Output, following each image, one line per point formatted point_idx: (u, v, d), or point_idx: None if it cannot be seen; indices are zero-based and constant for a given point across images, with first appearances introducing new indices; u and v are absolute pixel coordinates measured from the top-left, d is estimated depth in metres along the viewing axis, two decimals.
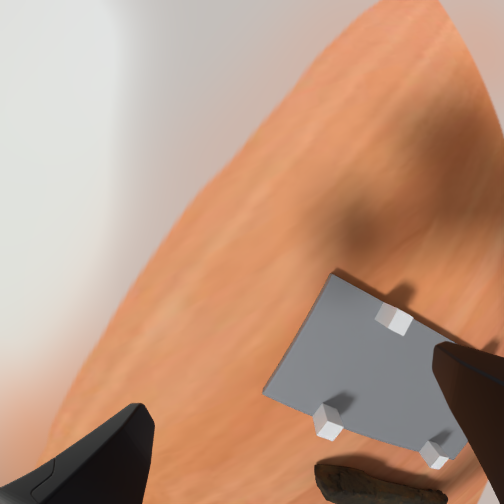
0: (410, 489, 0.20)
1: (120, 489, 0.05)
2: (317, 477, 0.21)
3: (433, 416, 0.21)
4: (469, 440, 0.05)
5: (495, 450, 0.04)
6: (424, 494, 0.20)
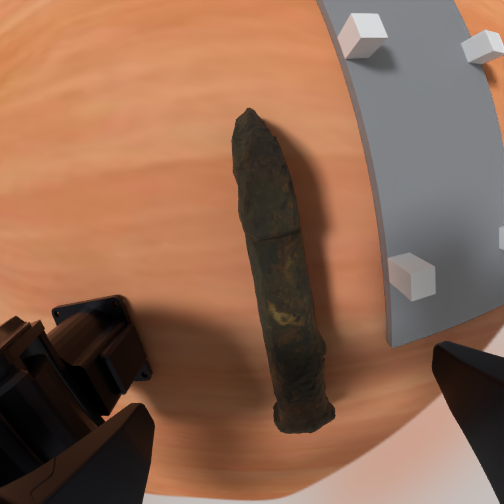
0: None
1: (120, 489, 0.05)
2: None
3: (441, 218, 0.15)
4: (469, 440, 0.05)
5: (495, 450, 0.04)
6: None
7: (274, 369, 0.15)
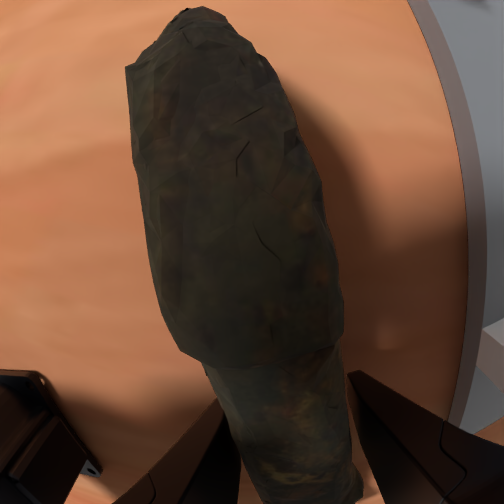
0: None
1: (222, 496, 0.05)
2: None
3: None
4: (376, 479, 0.05)
5: (393, 499, 0.04)
6: None
7: None
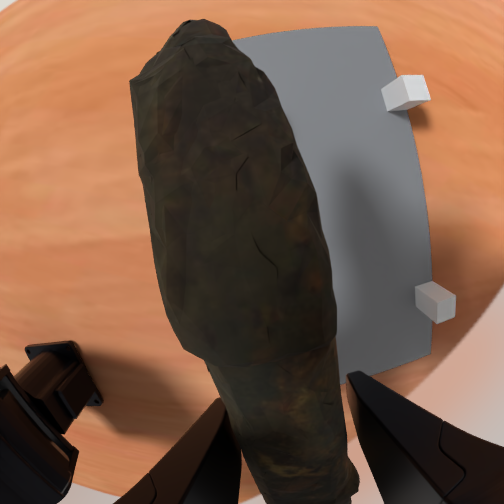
0: None
1: (223, 496, 0.05)
2: None
3: (338, 285, 0.18)
4: (375, 479, 0.05)
5: (393, 499, 0.04)
6: None
7: None
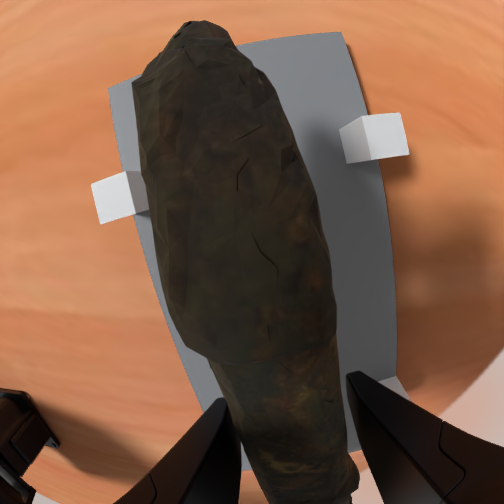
0: None
1: (223, 496, 0.05)
2: None
3: None
4: (375, 480, 0.05)
5: (393, 499, 0.04)
6: None
7: None
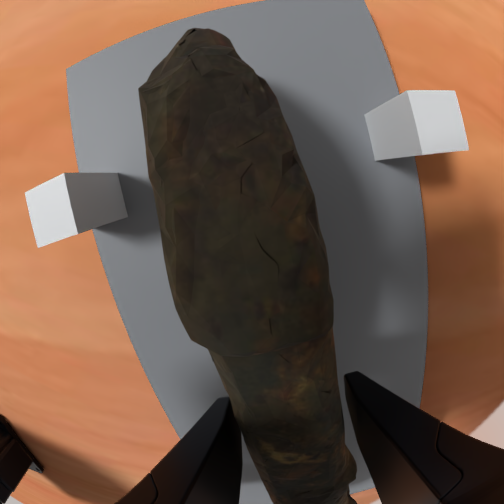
0: None
1: (224, 496, 0.05)
2: None
3: None
4: (373, 480, 0.05)
5: (390, 500, 0.04)
6: None
7: (274, 497, 0.08)
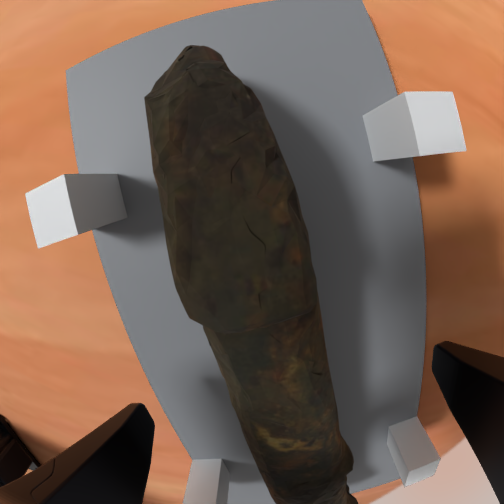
0: None
1: (120, 489, 0.05)
2: None
3: None
4: (469, 440, 0.05)
5: (495, 450, 0.04)
6: None
7: (272, 490, 0.08)
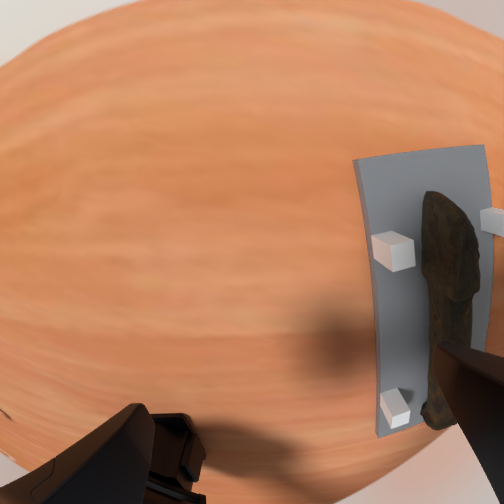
0: None
1: (120, 489, 0.05)
2: (442, 195, 0.15)
3: (425, 363, 0.20)
4: (469, 440, 0.05)
5: (495, 450, 0.04)
6: None
7: None
